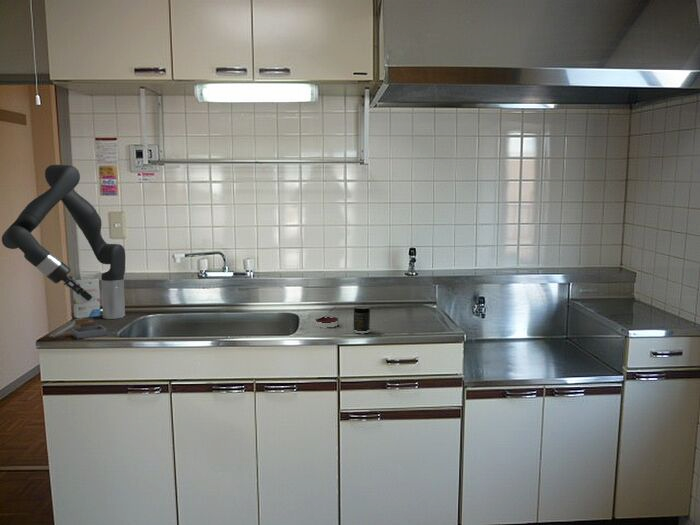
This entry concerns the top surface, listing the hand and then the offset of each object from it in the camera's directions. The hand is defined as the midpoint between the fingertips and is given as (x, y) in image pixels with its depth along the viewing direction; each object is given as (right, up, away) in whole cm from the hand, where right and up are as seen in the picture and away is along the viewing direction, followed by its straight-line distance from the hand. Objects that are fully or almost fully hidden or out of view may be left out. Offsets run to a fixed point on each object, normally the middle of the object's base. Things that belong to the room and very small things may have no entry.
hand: (89, 297), depth 205 cm
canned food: (+91, -14, +23) cm, 94 cm away
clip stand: (-6, -14, +9) cm, 17 cm away
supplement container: (+105, -15, +10) cm, 107 cm away
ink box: (-1, -7, 0) cm, 7 cm away
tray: (-1, -15, +1) cm, 15 cm away
